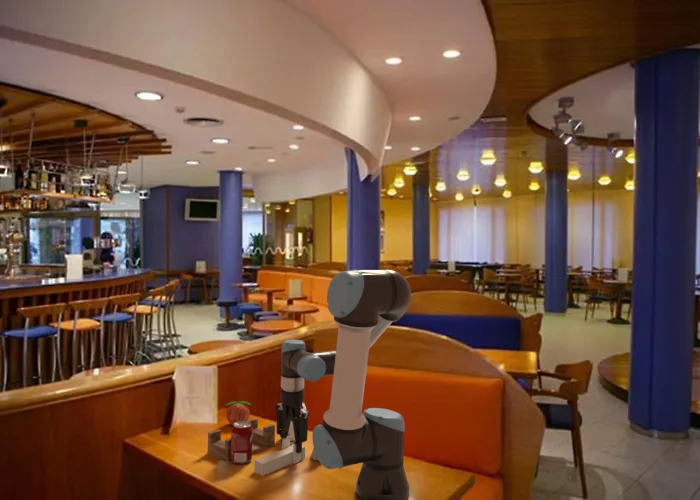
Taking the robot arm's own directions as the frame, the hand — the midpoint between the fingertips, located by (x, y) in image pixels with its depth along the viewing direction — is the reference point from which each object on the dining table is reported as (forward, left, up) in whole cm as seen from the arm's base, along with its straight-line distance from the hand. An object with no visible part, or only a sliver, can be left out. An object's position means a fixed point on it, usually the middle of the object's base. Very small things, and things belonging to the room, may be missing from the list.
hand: (291, 459), depth 179 cm
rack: (+19, +5, 0) cm, 19 cm away
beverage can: (+13, -15, 0) cm, 20 cm away
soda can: (+11, +11, 0) cm, 16 cm away
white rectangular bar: (0, +5, 0) cm, 5 cm away
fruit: (+39, -9, 0) cm, 40 cm away
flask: (-6, -8, 0) cm, 10 cm away
